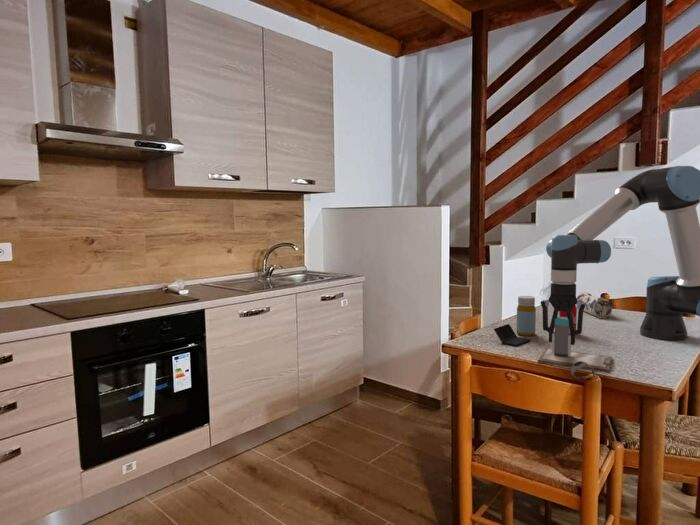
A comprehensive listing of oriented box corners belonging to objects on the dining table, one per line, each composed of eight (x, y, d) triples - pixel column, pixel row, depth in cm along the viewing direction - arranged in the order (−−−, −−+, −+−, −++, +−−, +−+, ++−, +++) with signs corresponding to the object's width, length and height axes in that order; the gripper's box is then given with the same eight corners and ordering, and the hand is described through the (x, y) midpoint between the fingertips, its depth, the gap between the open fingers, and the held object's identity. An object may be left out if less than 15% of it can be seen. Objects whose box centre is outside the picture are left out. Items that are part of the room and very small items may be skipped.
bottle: (535, 332, 186) (536, 296, 184) (534, 337, 180) (535, 299, 178) (517, 331, 189) (517, 295, 187) (515, 335, 182) (516, 298, 181)
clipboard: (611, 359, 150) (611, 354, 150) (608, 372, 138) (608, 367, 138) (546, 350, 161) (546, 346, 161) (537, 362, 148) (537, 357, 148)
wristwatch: (569, 376, 135) (569, 359, 135) (591, 376, 134) (591, 360, 134) (574, 380, 132) (574, 363, 131) (596, 380, 131) (597, 363, 131)
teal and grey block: (569, 353, 152) (570, 317, 151) (567, 356, 149) (568, 320, 148) (555, 351, 155) (556, 316, 154) (553, 354, 151) (554, 318, 150)
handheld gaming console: (522, 343, 165) (507, 319, 169) (506, 353, 169) (491, 329, 173) (532, 341, 174) (517, 318, 178) (516, 350, 178) (502, 327, 182)
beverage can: (578, 335, 181) (578, 305, 179) (561, 335, 182) (561, 305, 181) (573, 331, 187) (574, 302, 186) (557, 331, 188) (557, 302, 187)
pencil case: (613, 319, 208) (614, 297, 208) (593, 319, 209) (594, 297, 208) (592, 309, 230) (592, 290, 229) (574, 309, 231) (574, 290, 230)
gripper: (594, 282, 148) (591, 354, 150) (537, 279, 157) (536, 346, 159) (591, 285, 142) (589, 360, 144) (533, 282, 151) (531, 352, 153)
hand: (561, 353), depth 151 cm, fingers closed on teal and grey block, 4 cm apart
